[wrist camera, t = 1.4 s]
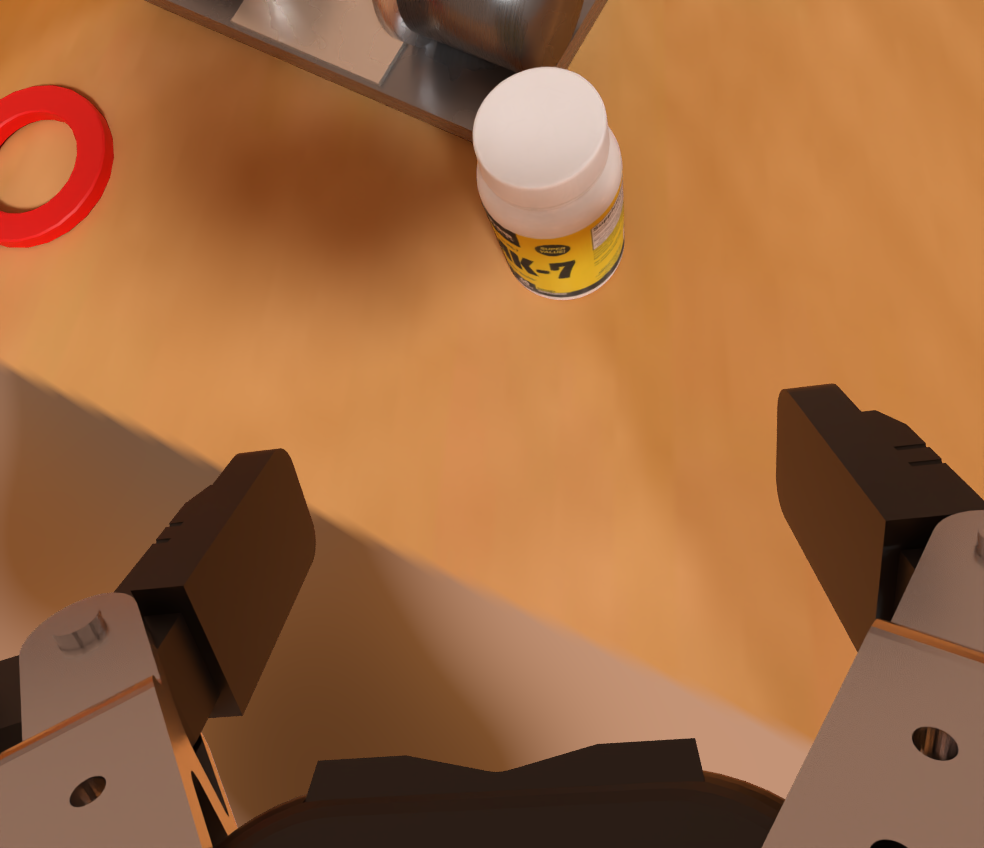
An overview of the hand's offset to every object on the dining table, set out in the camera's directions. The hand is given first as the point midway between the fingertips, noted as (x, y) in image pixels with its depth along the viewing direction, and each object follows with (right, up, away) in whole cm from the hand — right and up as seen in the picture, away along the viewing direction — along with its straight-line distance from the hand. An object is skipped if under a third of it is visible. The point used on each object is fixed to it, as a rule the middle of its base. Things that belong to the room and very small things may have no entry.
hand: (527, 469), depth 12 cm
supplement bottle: (+2, +8, +17) cm, 19 cm away
